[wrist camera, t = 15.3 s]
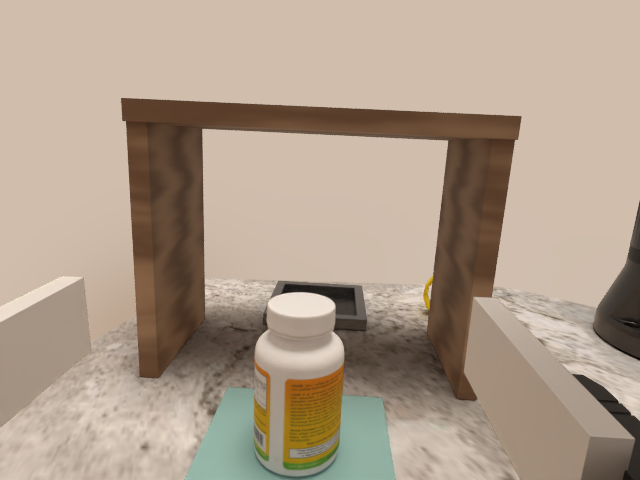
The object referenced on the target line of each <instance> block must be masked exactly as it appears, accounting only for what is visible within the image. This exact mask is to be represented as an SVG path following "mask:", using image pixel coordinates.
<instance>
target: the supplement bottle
mask: <svg viewBox="0 0 640 480" xmlns="http://www.w3.org/2000/svg"><path fill="white" fill-rule="evenodd" d="M335 311H336V307H335V303H334V302H333V301H332V300H331V299H329V298H327V297H325V296H322V295H318V294H314V293H304V292H293V293H285V294H281V295H278V296H275V297H273V298H272V299H270V300H269V302H268V305H267V319H266V320H267V326H268V329H269V330H267V331H266V332H264V333H263V334H262V335H261V336H260V338H259V339H258V341H257V343H256V347H255V357H254V449H255V453H256V456H257V458H258V459H259V461H260V462H261V463H262V464H263V465H264V466H265V467H266V468H267V469H269V470H271V471H273V472H275V473H278V474H281V475H285V476H296V477H299V476H308V475H312V474H315V473H318V472H320V471H322V470H324V469H325V468H326V467H328V466H329V465H330V464H331V463H332V461H333V460H334V459H335V457H336V455H337V453H338V449H339V441H340V426H341V407H342V390H343V374H344V346H343V343H342V341H341V339H340V338H339V337H338V336H337V335H336V334H335V333H334V332H333V330H334V325H335Z"/></svg>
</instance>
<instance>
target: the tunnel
mask: <svg viewBox="0 0 640 480" xmlns="http://www.w3.org/2000/svg"><path fill="white" fill-rule="evenodd" d="M121 103H122V120H123V121H126V128H127V146H128V165H129V183H130V202H131V220H132V238H133V256H134V275H135V291H136V310H137V330H138V348H139V366H140V377H153V378H159V376H160V375H161V374H162V372H163V371H164V370H165V369H166V367H167V366H168V365H169V363H170V362H171V361H172V360H173V358H174V357H175V356H176V355H177V353H178V352H179V351H180V349H181V348H182V347H183V346H184V344H185V343H186V342H187V341H188V339H189V338H190V337H191V335H192V334H193V333H194V332H195V330H196V329H197V328H198V326H199V325H200V324H201V323H202V321H203V320H204V319H205V282H204V221H203V220H204V218H203V217H204V216H203V155H202V153H203V151H202V129H221V130H241V131H243V130H244V131H262V132H282V133H283V132H284V133H304V134H325V135H345V136H346V135H347V136H366V137H387V138H388V137H389V138H408V139H429V140H449V141H448V150H447V159H446V168H445V176H444V185H443V194H442V203H441V211H440V221H439V229H438V238H437V247H436V255H435V265H434V273H433V282H432V291H431V300H430V308H429V317H428V326H427V334H428V336H429V338H430V341H431V343H432V345H433V347H434V349H435V352H436V354H437V356H438V358H439V360H440V363H441V365H442V367H443V369H444V371H445V373H446V376H447V378H448V380H449V382H450V384H451V387H452V389H453V391H454V393H455V395H456V398H457V399H465V400H476V399H477V396H476V394H475V393H474V391H473V389H472V387H471V385H470V383H469V381H468V379H467V377H466V375H465V374H464V366H465V358H466V350H467V343H468V335H469V327H470V320H471V312H472V304H473V297H487V298H492V291H493V284H494V278H495V271H496V264H497V257H498V251H499V244H500V237H501V230H502V223H503V217H504V210H505V203H506V197H507V190H508V183H509V176H510V170H511V163H512V156H513V149H514V142H515V140H518V136H519V129H520V123H521V116H504V115H503V116H502V115H481V114H460V113H458V114H457V113H437V112H416V111H415V112H414V111H394V110H393V111H392V110H372V109H349V108H327V107H306V106H282V105H262V104H260V105H259V104H240V103H218V102H195V101H174V100H151V99H130V98H121Z"/></svg>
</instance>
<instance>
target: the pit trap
mask: <svg viewBox="0 0 640 480" xmlns="http://www.w3.org/2000/svg"><path fill="white" fill-rule="evenodd" d="M293 292H304V293H314V294H318V295H322V296H325V297H327V298H329V299H331V300H332V301H333V302H334V303H335V307H336V311H335V325H334V329H349V330H364V331H366V324H367V318H366V311H365V304H364V297H363V291H362V286H356V285H340V284H324V283H307V282H291V281H278V283H277V285H276V287H275V289H274V292H273V294H272V296H271V298H270V299H272V298H273V297H275V296H278V295H281V294H285V293H293ZM266 319H267V307H266V309H265V311H264V313H263V324H267V320H266Z"/></svg>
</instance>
